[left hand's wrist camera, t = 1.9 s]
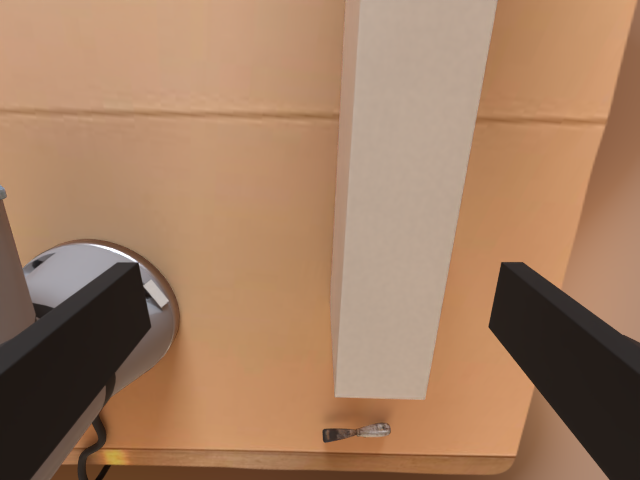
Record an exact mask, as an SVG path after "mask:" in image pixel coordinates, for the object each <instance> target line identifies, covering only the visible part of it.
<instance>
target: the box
mask: <svg viewBox="0 0 640 480" xmlns="http://www.w3.org/2000/svg"><path fill="white" fill-rule="evenodd" d="M497 2H498V0H345V19H344V39H343V58H342V77H341V97H340V116H339V135H338V155H337V174H336V193H335V213H334V232H333V251H332V271H331V290H330V316H331V336H332V355H333V375H334V395H335V397H344V398H379V399H414V400H425V397H426V392H427V386H428V381H429V375H430V370H431V364H432V359H433V353H434V348H435V342H436V337H437V331H438V326H439V320H440V315H441V309H442V304H443V298H444V293H445V287H446V282H447V276H448V271H449V265H450V260H451V254H452V249H453V243H454V238H455V233H456V227H457V222H458V216H459V211H460V205H461V200H462V194H463V189H464V183H465V178H466V172H467V167H468V161H469V156H470V150H471V145H472V139H473V134H474V128H475V123H476V117H477V112H478V106H479V101H480V95H481V90H482V84H483V79H484V73H485V68H486V62H487V57H488V51H489V46H490V40H491V35H492V29H493V24H494V18H495V13H496V7H497Z"/></svg>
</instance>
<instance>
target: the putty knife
mask: <svg viewBox="0 0 640 480" xmlns="http://www.w3.org/2000/svg"><path fill="white" fill-rule="evenodd" d="M382 429H383V430H382ZM390 432H391V428H390V426H389V424H387V423H377V424H372V425H368V426H365V427H362V428H358V429H356V430H353V429H324V430H323V441H324V442H325V443H326V442H331V441H336V440H341V439H345V438H348V437H352V436H355V435H357V436H362V437H383V436H387V435H389V434H390Z"/></svg>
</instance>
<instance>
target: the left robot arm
mask: <svg viewBox="0 0 640 480" xmlns="http://www.w3.org/2000/svg"><path fill="white" fill-rule="evenodd" d="M6 197H7V195H6V191H5V189H4V188H3V187H2V186H1V185H0V480H50V479H51V478H52V476H53V475H54V474H55V472H56V471H57V470H58V468H59V467H60V465H61V464H62V463H63V461H64V460H65V459H66V457H67V456H68V455H69V453H70V452H71V450H72V449H73V448H74V446H75V445H76V444H77V442H78V441H79V440H80V438H81V437H82V436H83V434H84V433H85V431H86V430H87V429H88V427H89V426H90V425H91V423H92V424H93V426H94V428H95V430H96V432H97V435H98V442H97V443H96V444H94V445H92V446H90V447H88V448H87V449H85V450H84V451H83V452H82V453H81V455H80V457H79V461H78V478H79V480H88V478H87V475H86V459H87V456H89V455H90V454H92V453H94V452H96V451H98V450H99V449H100V448H101V447H102V446H103V445H104V444H105V442H106V431H105V428H104V426H103V424H102V422H101V420H100V418H99V412H100V411H101V410H102V408H103V407H104V406H105V404H106V403H107V402H108V400H109V399H110V398H111V397H112V396H113V395H115V394H116V393H117V392H119V391H120V390H122V389H123V388H124V387H126V386H127V385H129V384H130V383H131V382H133V381H134V380H136V379H137V378H138V377H140V376H141V375H142V374H144V373H145V372H147V371H148V370H150V369H151V368H152V367H154V366H155V365H156V364H157V363H158V362H159V361H160V360H161V358H162V357H163V356H164V355H165V354H166V352H167V351H168V349H169V348H170V346H171V344H172V343H173V341H174V339H175V337H176V334H177V331H178V327H179V308H178V304H177V300H176V297H175V295H174V293H173V290H172V289H171V287H170V285H169V283H168V282H167V280H166V279H165V278H164V276H163V275H162V274H161V273H160V272H159V271H158V270H157V269H156V268H155V267H154V266H153V265H152V264H151V263H150V262H149V261H147V260H146V259H145V258H143V257H142V256H140V255H139V254H137V253H135V252H134V251H132V250H130V249H128V248H125V247H123V246H120V245H117V244H114V243H111V242H107V241H101V240H92V239H82V240H73V241H69V242H65V243H62V244H59V245H57V246H55V247H53V248H51V249H49V250H47V251H45V252H43V253H41V254H40V255H38V256H37V257H35V258H34V259H33V260H32V261H30V262H29V263H28V264H27V265H26V266H25V267H24V268H23V269H22V265H21V262H20V259H19V255H18V252H17V248H16V245H15V241H14V238H13V234H12V231H11V227H10V224H9V221H8V217H7V214H6V210H5V207H4V203H3V200H2V199H4V198H6ZM489 328H490V330H491V331H492V332H493V333H494V335H495V336H496V337H497V338H498V340H499V341H500V342H501V344H502V345H503V346H504V347H505V349H506V350H507V351H508V352H509V354H510V355H511V356H512V357H513V359H514V360H515V361H516V362H517V364H518V365H519V366H520V367H521V369H522V370H523V371H524V372H525V374H526V375H527V376H528V378H529V379H530V380H531V381H532V383H533V384H534V385H535V386H536V388H537V389H538V390H539V391H540V393H541V394H542V395H543V396H544V398H545V399H546V400H547V401H548V403H549V404H550V405H551V406H552V408H553V409H554V410H555V412H556V413H557V414H558V415H559V417H560V418H561V419H562V420H563V422H564V423H565V424H566V425H567V427H568V428H569V429H570V430H571V432H572V433H573V434H574V435H575V437H576V438H577V439H578V440H579V442H580V443H581V444H582V446H583V447H584V448H585V449H586V451H587V452H588V453H589V454H590V456H591V457H592V458H593V459H594V461H595V462H596V463H597V464H598V466H599V467H600V468H601V469H602V471H603V472H604V473H605V475H606V476H607V477H608V478H609V480H640V343H639V342H637V341H635V340H633V339H631V338H629V337H627V336H625V335H622V334H620V333H619V332H618V331H616V330H615V329H614V328H612V327H611V326H610V325H608V324H607V323H605V322H604V321H603V320H601V319H600V318H599V317H597V316H596V315H594V314H593V313H592V312H590V311H589V310H588V309H586V308H585V307H583V306H582V305H581V304H579V303H578V302H577V301H575V300H574V299H572V298H571V297H570V296H568V295H567V294H566V293H564V292H563V291H561V290H560V289H559V288H557V287H556V286H555V285H553V284H552V283H550V282H549V281H548V280H546V279H545V278H544V277H542V276H541V275H539V274H538V273H537V272H535V271H534V270H533V269H531V268H530V267H528V266H527V265H526V264H524V263H523V262H501V267H500V272H499V277H498V282H497V287H496V292H495V297H494V302H493V307H492V312H491V317H490V322H489ZM110 467H111V465H110V464H105V465H104V467H103V468H102V470H101V472H100V473H99V475H98V476H97V478H96V479H95V480H103V478H104V476H105V475H106V473H107V472H108V470H109V468H110Z"/></svg>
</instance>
